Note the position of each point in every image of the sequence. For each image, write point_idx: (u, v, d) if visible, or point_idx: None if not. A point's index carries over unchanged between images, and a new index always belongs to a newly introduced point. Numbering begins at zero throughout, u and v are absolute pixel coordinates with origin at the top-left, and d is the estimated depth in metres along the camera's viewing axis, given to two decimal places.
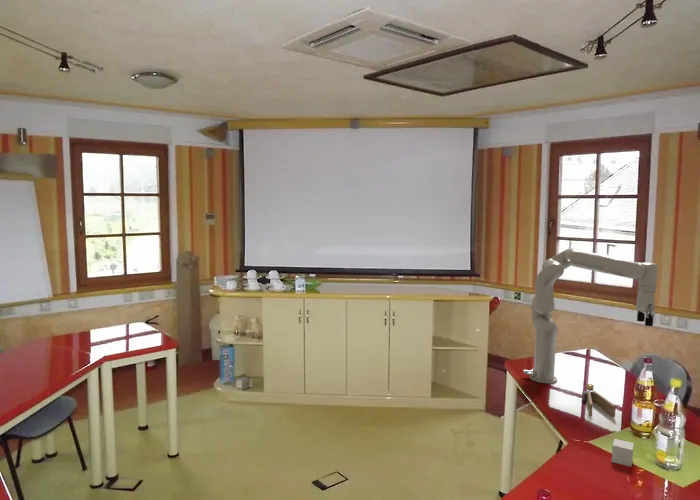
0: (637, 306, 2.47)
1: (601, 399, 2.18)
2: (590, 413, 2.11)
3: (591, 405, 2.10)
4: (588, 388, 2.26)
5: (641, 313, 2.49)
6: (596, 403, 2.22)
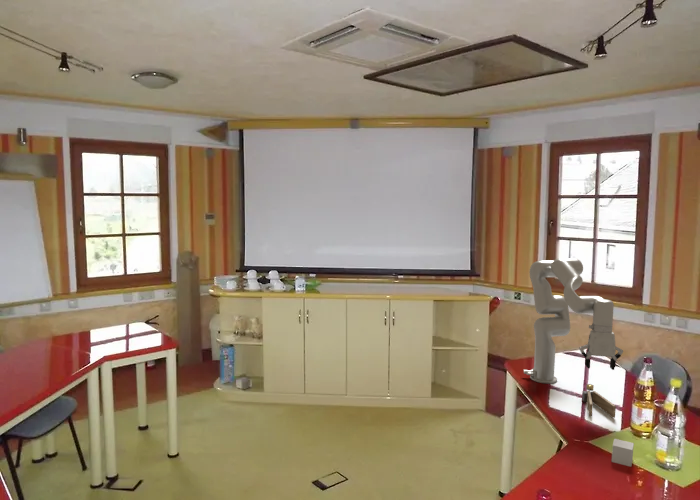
0: (596, 351, 2.13)
1: (601, 399, 2.18)
2: (590, 413, 2.11)
3: (591, 405, 2.10)
4: (588, 388, 2.26)
5: None
6: (596, 403, 2.22)
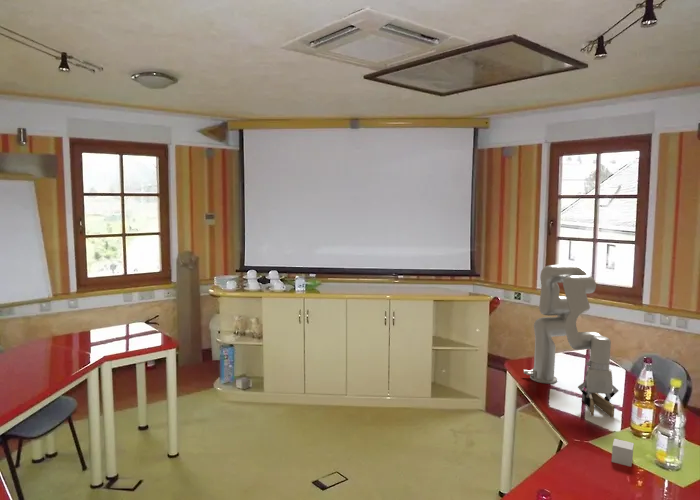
0: (594, 389, 2.14)
1: (600, 399, 2.18)
2: (592, 413, 2.10)
3: (593, 405, 2.10)
4: None
5: None
6: (596, 403, 2.22)
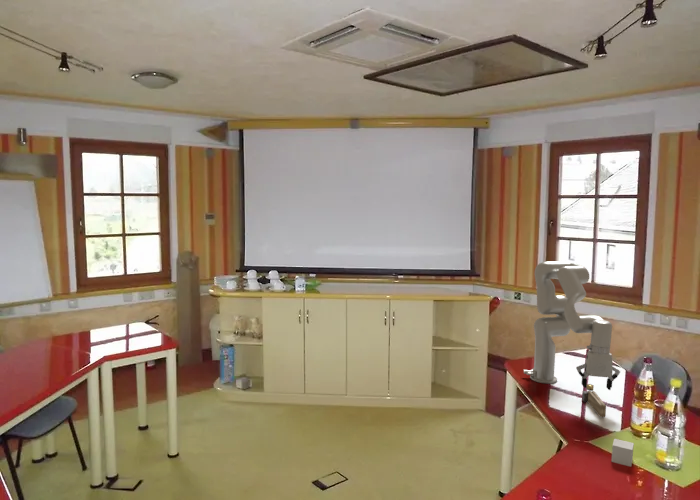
0: (593, 372, 2.14)
1: None
2: (601, 414, 2.10)
3: (602, 406, 2.09)
4: (588, 388, 2.26)
5: None
6: None
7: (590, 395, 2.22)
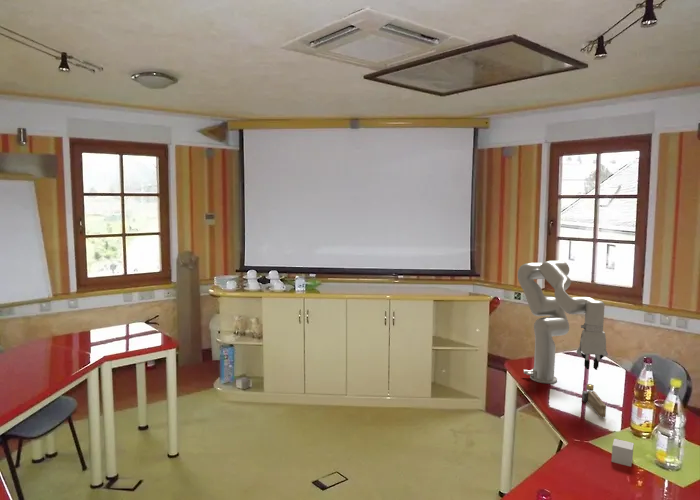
0: (588, 350, 2.23)
1: None
2: (601, 414, 2.10)
3: (602, 406, 2.09)
4: (588, 388, 2.26)
5: None
6: None
7: (590, 395, 2.22)
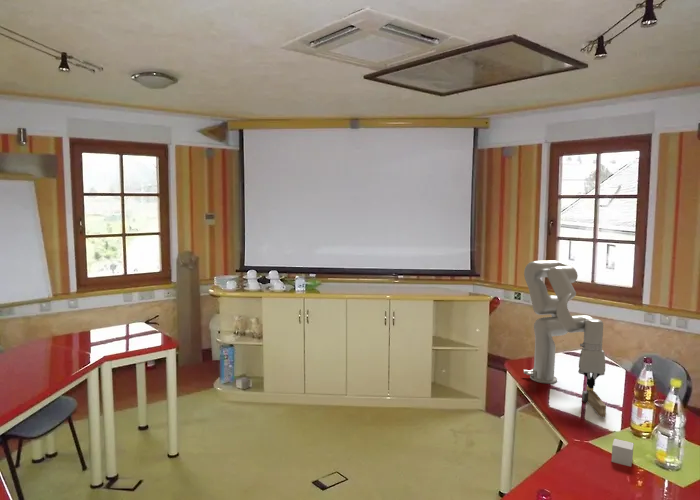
0: (587, 369, 2.24)
1: None
2: (601, 414, 2.10)
3: (602, 406, 2.09)
4: (588, 390, 2.26)
5: None
6: None
7: (590, 395, 2.22)
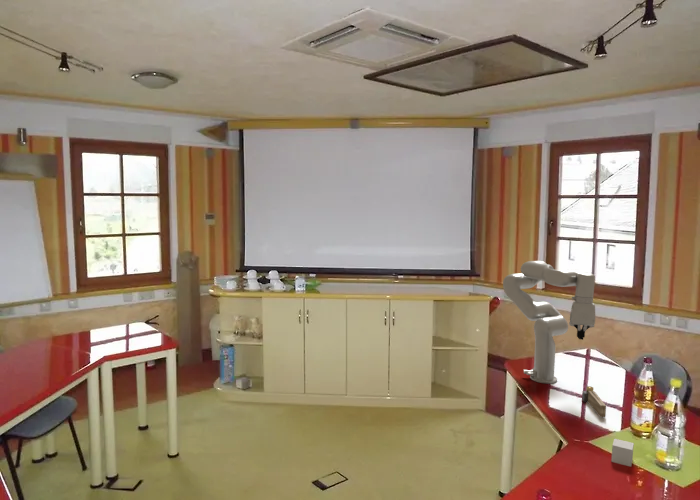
0: (578, 321, 2.32)
1: None
2: (601, 414, 2.10)
3: (602, 406, 2.09)
4: (588, 390, 2.27)
5: None
6: None
7: (590, 395, 2.22)
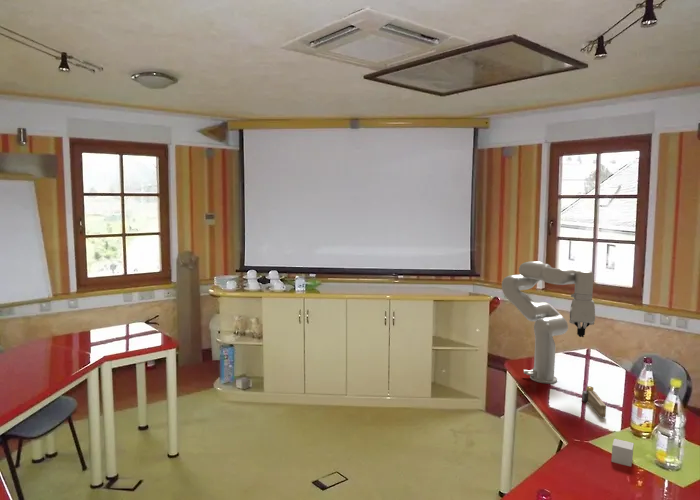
0: (578, 318, 2.32)
1: None
2: (601, 414, 2.10)
3: (602, 406, 2.09)
4: (588, 390, 2.27)
5: None
6: None
7: (590, 395, 2.22)
